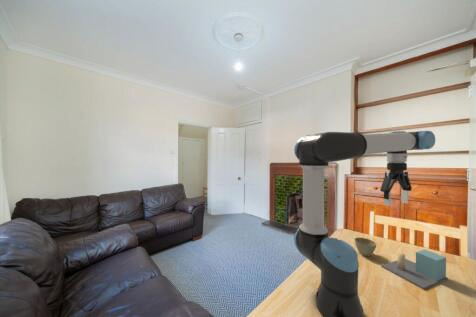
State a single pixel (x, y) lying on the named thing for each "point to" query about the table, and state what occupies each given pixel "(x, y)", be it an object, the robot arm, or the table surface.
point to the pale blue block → (431, 264)
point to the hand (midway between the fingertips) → (396, 204)
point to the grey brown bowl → (365, 246)
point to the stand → (410, 272)
